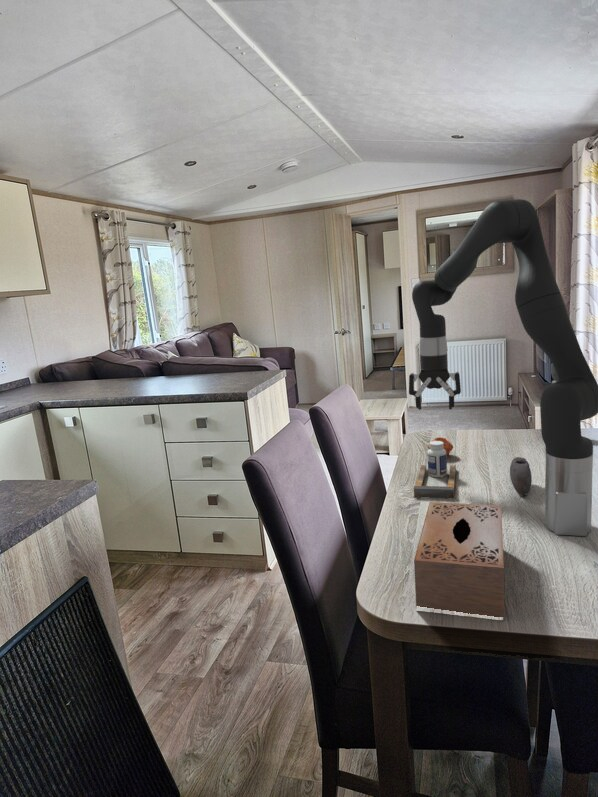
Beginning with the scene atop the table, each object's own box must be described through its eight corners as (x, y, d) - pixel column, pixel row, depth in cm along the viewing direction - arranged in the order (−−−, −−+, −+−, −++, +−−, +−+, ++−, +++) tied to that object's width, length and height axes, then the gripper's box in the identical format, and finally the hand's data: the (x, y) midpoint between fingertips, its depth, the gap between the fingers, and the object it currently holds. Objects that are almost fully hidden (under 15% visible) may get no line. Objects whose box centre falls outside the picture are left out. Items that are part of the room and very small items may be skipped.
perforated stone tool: (533, 501, 137) (533, 474, 136) (511, 500, 139) (510, 474, 138) (530, 480, 151) (529, 455, 150) (509, 479, 153) (509, 455, 152)
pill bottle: (445, 471, 163) (444, 439, 162) (448, 477, 158) (447, 444, 156) (427, 471, 164) (425, 440, 162) (429, 478, 159) (428, 445, 157)
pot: (421, 457, 177) (423, 436, 177) (436, 456, 182) (437, 436, 182) (442, 460, 171) (444, 439, 171) (457, 460, 176) (458, 439, 176)
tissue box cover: (504, 622, 91) (503, 567, 89) (416, 612, 96) (414, 560, 94) (501, 550, 115) (501, 505, 113) (431, 544, 120) (429, 501, 118)
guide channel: (453, 498, 143) (453, 489, 142) (414, 497, 146) (413, 488, 145) (455, 470, 163) (455, 462, 163) (421, 469, 166) (420, 461, 166)
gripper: (406, 355, 153) (408, 412, 156) (459, 353, 148) (460, 411, 152) (409, 351, 160) (411, 406, 163) (460, 349, 155) (461, 405, 159)
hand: (435, 408), depth 157 cm, fingers open, 8 cm apart
